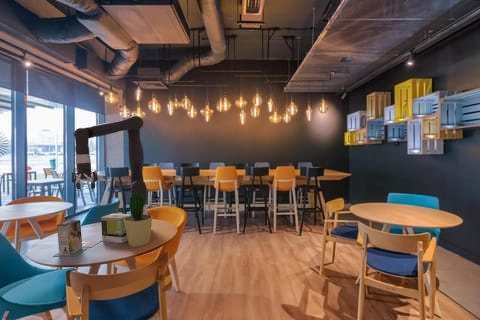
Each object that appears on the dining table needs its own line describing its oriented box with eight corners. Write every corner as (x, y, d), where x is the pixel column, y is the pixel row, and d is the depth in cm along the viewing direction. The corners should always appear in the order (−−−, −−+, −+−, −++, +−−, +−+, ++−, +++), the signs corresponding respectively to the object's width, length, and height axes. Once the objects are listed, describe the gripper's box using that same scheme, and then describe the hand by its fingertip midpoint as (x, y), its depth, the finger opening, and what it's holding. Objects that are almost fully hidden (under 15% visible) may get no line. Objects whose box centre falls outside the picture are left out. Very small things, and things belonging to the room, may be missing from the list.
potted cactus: (142, 249, 143) (139, 194, 141) (118, 246, 148) (115, 193, 146) (158, 239, 158) (156, 189, 156) (137, 237, 162) (134, 188, 161)
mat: (87, 248, 146) (87, 248, 146) (75, 256, 136) (75, 255, 136) (66, 248, 146) (66, 248, 146) (52, 256, 136) (52, 256, 136)
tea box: (134, 237, 162) (133, 214, 161) (121, 243, 152) (120, 218, 151) (114, 235, 167) (113, 212, 166) (101, 241, 157) (100, 216, 156)
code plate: (101, 240, 158) (101, 240, 158) (91, 247, 148) (91, 246, 148) (75, 241, 159) (75, 240, 159) (63, 247, 149) (63, 247, 149)
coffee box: (72, 248, 146) (70, 219, 145) (82, 248, 145) (81, 219, 144) (58, 255, 137) (56, 224, 136) (69, 255, 136) (67, 224, 135)
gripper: (98, 161, 161) (101, 187, 162) (75, 162, 161) (78, 188, 162) (91, 162, 153) (94, 189, 154) (67, 163, 153) (69, 190, 154)
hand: (85, 189), depth 158 cm, fingers open, 8 cm apart
